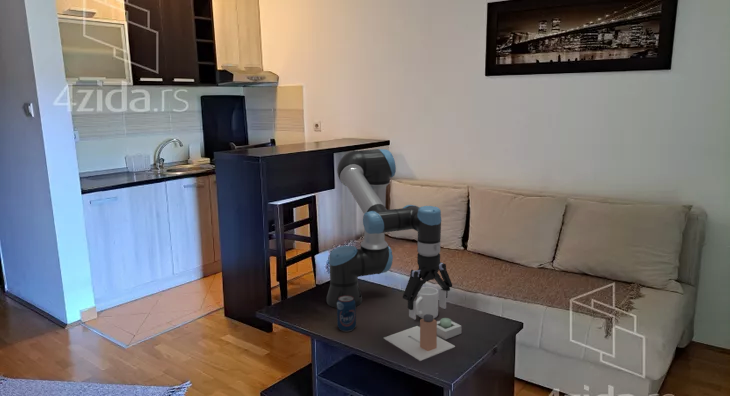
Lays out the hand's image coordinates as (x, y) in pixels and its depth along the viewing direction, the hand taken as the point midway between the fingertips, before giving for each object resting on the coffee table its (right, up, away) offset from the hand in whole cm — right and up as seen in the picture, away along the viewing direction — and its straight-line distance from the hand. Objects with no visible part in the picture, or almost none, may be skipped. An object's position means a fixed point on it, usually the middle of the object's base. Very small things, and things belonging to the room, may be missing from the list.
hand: (427, 312), depth 172 cm
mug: (+2, -8, +27) cm, 28 cm away
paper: (-2, -12, +6) cm, 14 cm away
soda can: (-28, -10, +19) cm, 35 cm away
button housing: (+8, -10, +13) cm, 19 cm away
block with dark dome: (0, -12, +2) cm, 13 cm away
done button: (+8, -9, +13) cm, 18 cm away
